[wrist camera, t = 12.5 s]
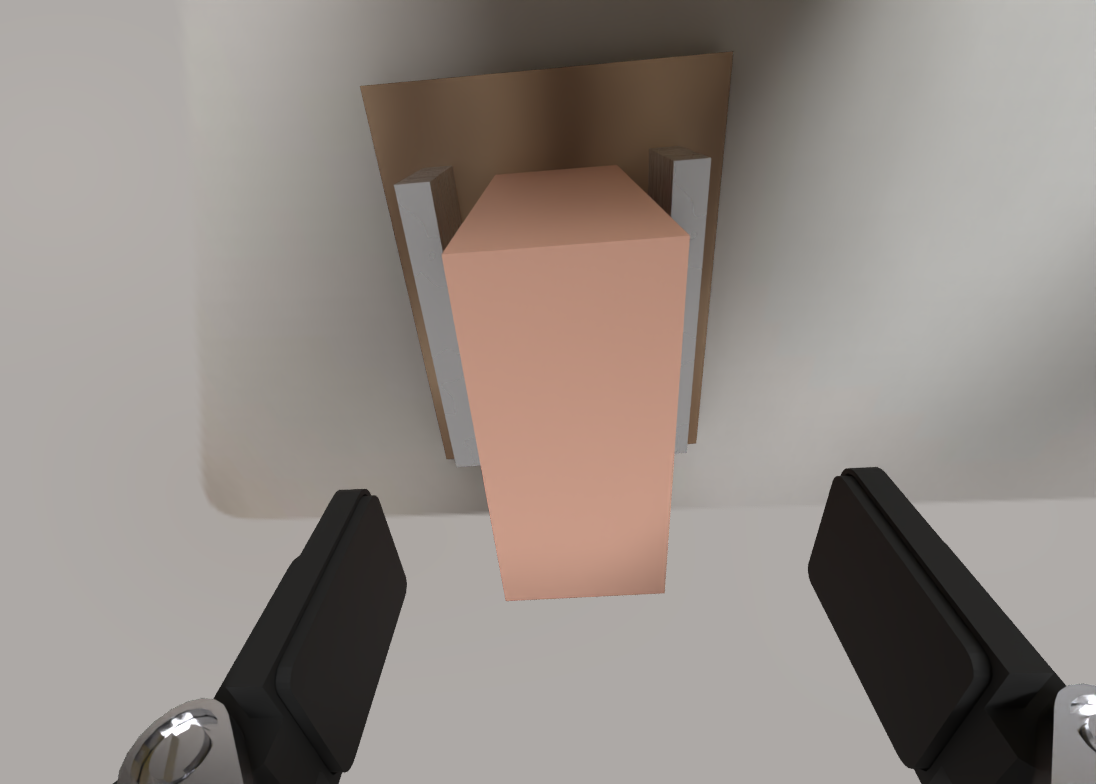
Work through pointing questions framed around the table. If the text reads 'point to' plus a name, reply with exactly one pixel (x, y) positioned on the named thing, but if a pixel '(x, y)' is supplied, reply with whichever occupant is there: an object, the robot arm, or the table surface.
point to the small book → (572, 375)
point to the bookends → (428, 232)
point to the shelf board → (552, 143)
